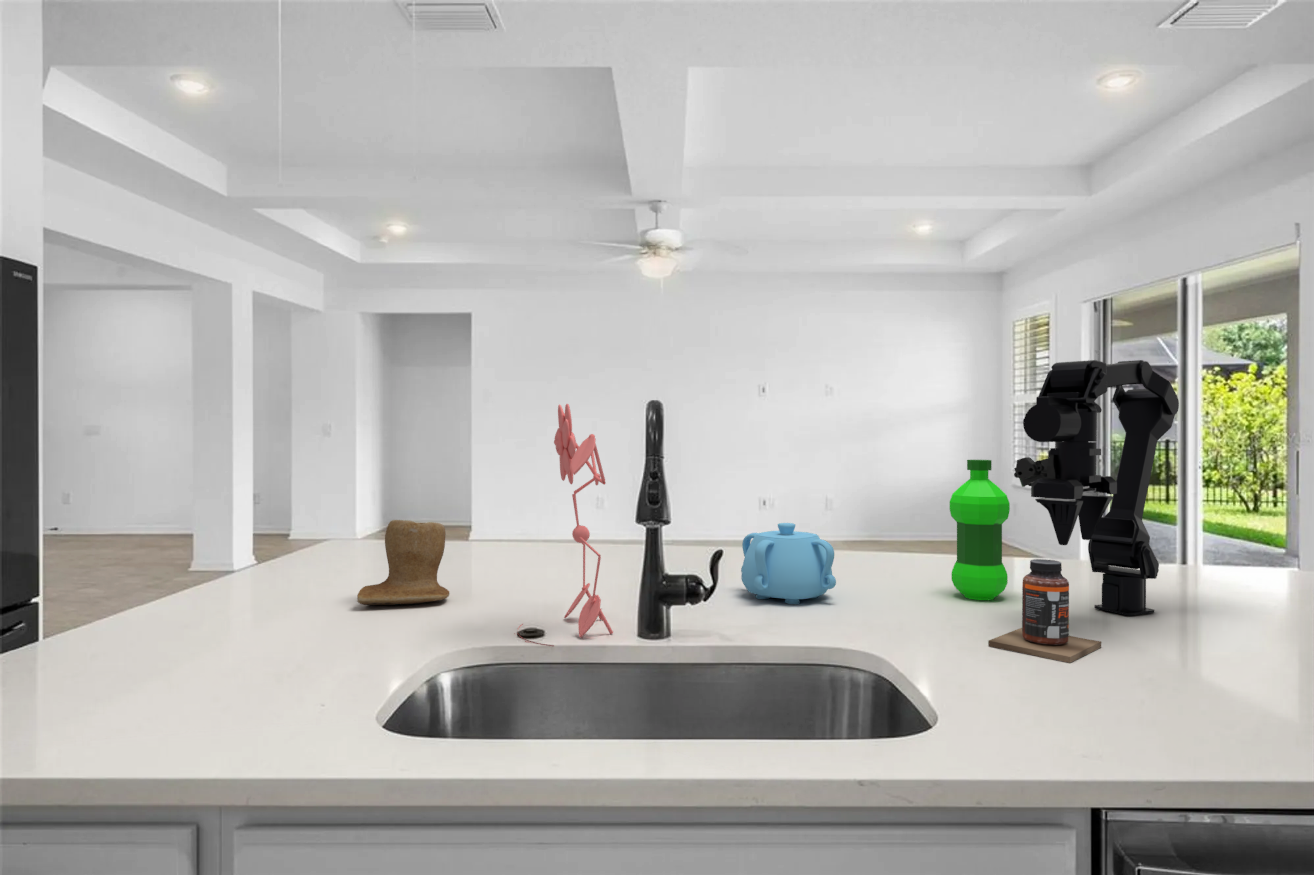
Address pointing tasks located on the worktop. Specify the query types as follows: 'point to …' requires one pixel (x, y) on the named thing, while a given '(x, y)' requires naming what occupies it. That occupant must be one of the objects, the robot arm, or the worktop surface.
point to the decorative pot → (787, 564)
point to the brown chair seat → (409, 565)
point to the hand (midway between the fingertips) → (1074, 542)
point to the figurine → (570, 466)
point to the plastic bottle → (979, 534)
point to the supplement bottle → (1045, 603)
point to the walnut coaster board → (1046, 646)
